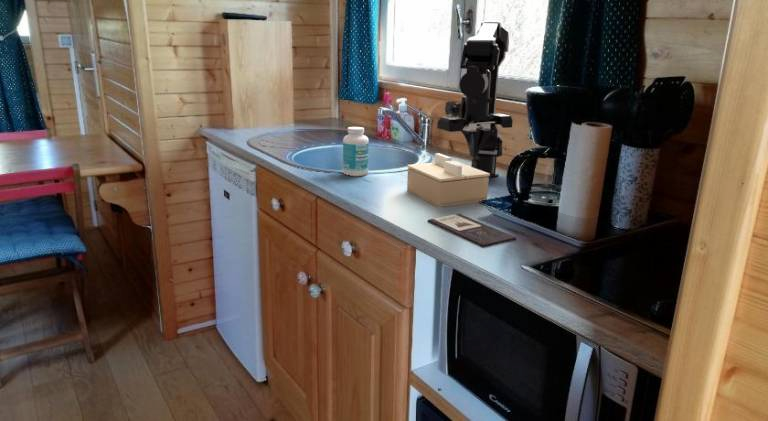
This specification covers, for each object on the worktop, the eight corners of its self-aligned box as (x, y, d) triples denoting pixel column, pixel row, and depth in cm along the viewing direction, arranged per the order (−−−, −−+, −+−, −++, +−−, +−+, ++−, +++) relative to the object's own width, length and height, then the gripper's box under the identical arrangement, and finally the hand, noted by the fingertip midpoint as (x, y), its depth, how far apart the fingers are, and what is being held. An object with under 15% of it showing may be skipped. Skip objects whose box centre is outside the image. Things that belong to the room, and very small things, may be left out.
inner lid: (453, 162, 156) (454, 151, 156) (489, 176, 143) (490, 163, 142) (431, 164, 153) (431, 153, 153) (466, 178, 140) (467, 166, 139)
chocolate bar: (483, 244, 113) (427, 219, 127) (482, 249, 113) (427, 223, 128) (516, 237, 118) (459, 213, 132) (515, 241, 118) (459, 217, 132)
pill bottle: (358, 178, 164) (358, 130, 160) (337, 174, 168) (337, 128, 163) (373, 173, 170) (373, 127, 166) (352, 169, 174) (352, 124, 170)
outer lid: (430, 164, 153) (430, 153, 152) (464, 178, 140) (465, 166, 139) (407, 167, 150) (407, 155, 149) (440, 181, 136) (440, 168, 136)
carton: (451, 185, 158) (453, 163, 156) (487, 200, 145) (488, 177, 143) (407, 190, 152) (407, 168, 150) (439, 206, 139) (440, 182, 137)
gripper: (488, 88, 150) (484, 148, 154) (426, 91, 141) (424, 153, 146) (516, 93, 140) (511, 156, 145) (452, 96, 132) (448, 162, 137)
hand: (473, 157), depth 143 cm, fingers closed
